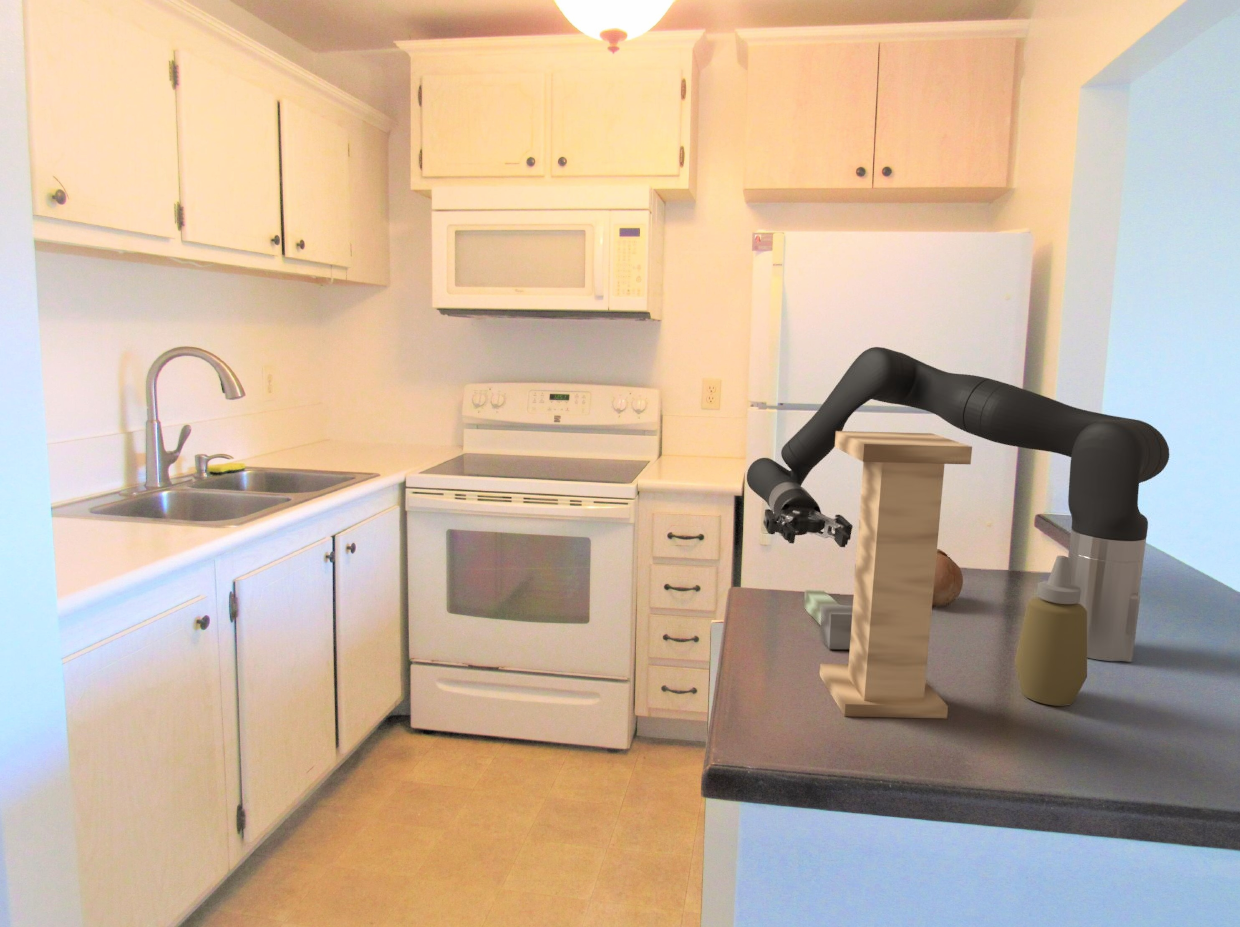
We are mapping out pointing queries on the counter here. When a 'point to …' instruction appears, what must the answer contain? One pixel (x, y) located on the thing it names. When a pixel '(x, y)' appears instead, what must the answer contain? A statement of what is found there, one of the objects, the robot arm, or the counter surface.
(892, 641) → the stand
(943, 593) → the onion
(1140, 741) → the counter surface
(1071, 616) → the squeeze bottle
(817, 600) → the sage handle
